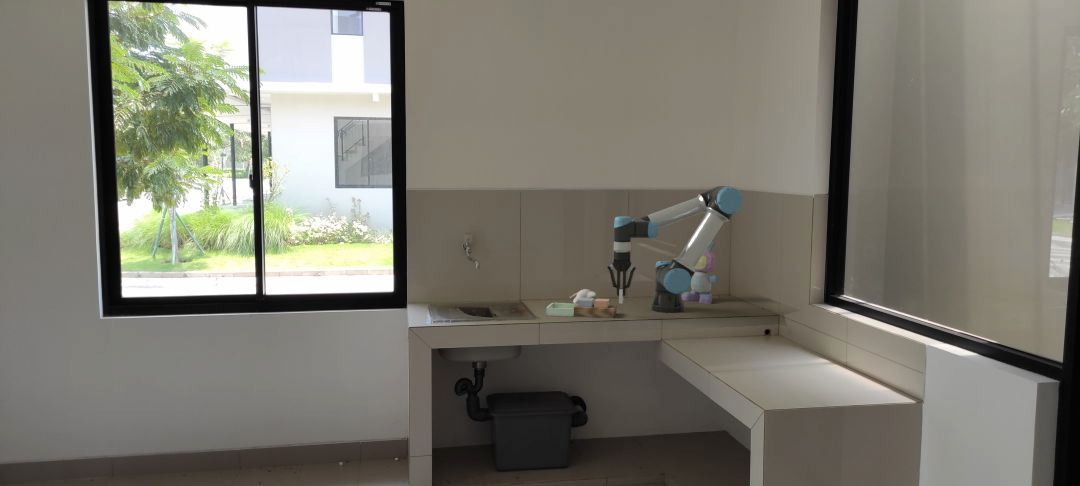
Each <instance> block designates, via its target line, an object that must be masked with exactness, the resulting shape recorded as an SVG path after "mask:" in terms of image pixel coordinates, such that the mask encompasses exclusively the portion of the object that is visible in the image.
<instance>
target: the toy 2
mask: <svg viewBox="0 0 1080 486" xmlns="http://www.w3.org/2000/svg"><path fill="white" fill-rule="evenodd" d="M715 245H716V244H715V242H714V241H711V243H710V244H709V246H708V247H707V249H706V250H705V252H704V254H703V255H702V257H701V258H700V260H699V261H698V263H697V264H696V266H695V274H694V275H693V277H692V278H691V285H690V288H691V290H690V291H685V292H683V293H681V298H682V301H686V302H692V301H698V303H699V304H707V305H710V304H712V302H713V293H711V292H710V291H711V290H712V283H717V282H718V281H719V280H720V279H719V276H718V275H717V274H714V275H710V276H709V273H712V272H714V271H715V269H716V256H715V254H714V252H712V249H713V248H714V246H715Z"/></svg>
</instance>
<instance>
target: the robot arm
mask: <svg viewBox="0 0 1080 486" xmlns="http://www.w3.org/2000/svg"><path fill="white" fill-rule="evenodd" d="M742 207H743V195H742V193H741V192H740V191H739V190H738V189H737V188H735V187H732V186H724V185H718V186H715V187H713V188H711V189H708V190H706V191H704V192H701V193H699V194H698V195H697V197H694V198H691V199H688V200H686V201H683V202H680V203H677V204H676V205H672V206H670V207H666V208H664V209H660V210H658V211H655V212H653V213H651V214H647V215H646V216H641V217H636V218H633V219H632V217H631V216H627V215H626V216H622V215H621V216H620V215H619V216H616V217H615V218H614V222H613V224H614V225H613V250H614V252H613V261H612V263H611V264H610V265H608V266H607V270H608V271H609V274H610V279H611V284H612V287H613V288H616V296H617V297H618V304H621V305H622V304H623V303H624V297H625V296H626V295H627V294H626V293H627V289H629V288H630V287H631V284H632V280H633V277H634V273H635V272H636V270H637V267H636V266H634V265H633V264H632V261H631V250H632V247H631V246H632V244H631V242H632V240H631V239H637V238H639V239H652V238H653V239H655V238H657V236H659V235H658V234H659V229H661V228H663V227H666V226H669V225H672V224H675V223H677V222H680V221H683V220H686V219H688V218H691V217H695V216H697V215H699V214H705V215H704V216H703V217H702V219H701V221H700V222H699V224H698V225H697V228H696V229H695V231H694V232H693V234H692V235H691V236H690V238H689V240H688V241H687V243H686V244H685V246H684V247H683V249H682V251H681V252H680V254H678V255H679V256H678V257H674V258H672V259H671V260H669V261H668V260H664V261H662V260H661V261H660V260H658V261H657V262H656V263H655V268H654V269H655V275H654V276H655V280H654V283H655V285H654V289H655V293H654V296H653V299H652V302H651V307H650V308H651V310H652V311H655V312H659V313H680V312H682V311H684V310H685V305H684V302H683V301H684V300H682V298H681V296H682V294H683V293H684V292H687V291H688V290H689V288H691V280H692V279H691V278H692V277H693V275H694V274H695V272H696V271H695V266H696V264H697V263H698V261H699V260H700V258H701V257H702V255H703V254H704V252H705V250H707V247H708V246H709V244H710V243H711V242H713V240H714V238H715V237H716V235H717V234H718V232H719V231H720V229H721V227H722V226H723V224H724V223H726V222H729V221H730V220H731V218H732V216H733V215H734V214H736V213H737V212H739V211H740V210H741V208H742ZM614 269H615V271H616V277H615V273H614ZM628 270H630V272H629V276H628V280H627V271H628ZM621 272H622V287H621Z"/></svg>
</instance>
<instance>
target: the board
mask: <svg viewBox="0 0 1080 486" xmlns="http://www.w3.org/2000/svg"><path fill="white" fill-rule="evenodd" d="M617 307H618V306H617V304H609V307H608V308H596V307H594V306H593V307H579V303H578V304H577V305H576V306H575V307H574V316H573V317H582V318H583V317H585V318H587V317H588V318H589V317H590V318H605V319H606V318H607V319H608V318H609V319H614V317H615V316H616V315H617Z"/></svg>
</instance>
